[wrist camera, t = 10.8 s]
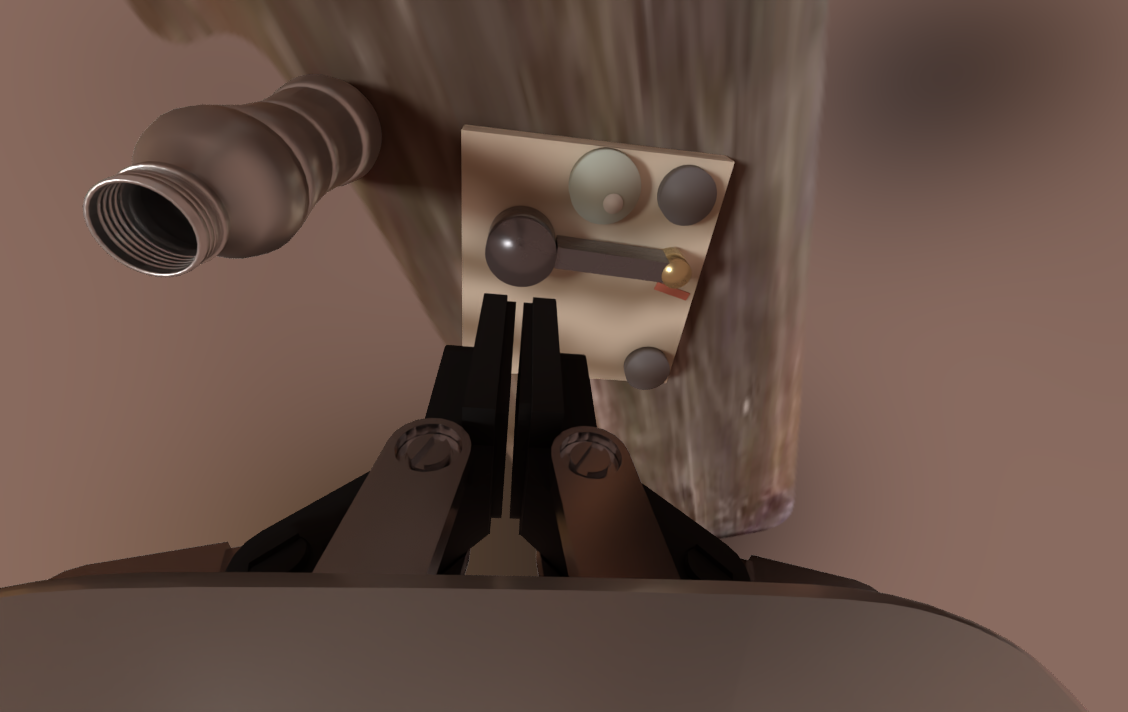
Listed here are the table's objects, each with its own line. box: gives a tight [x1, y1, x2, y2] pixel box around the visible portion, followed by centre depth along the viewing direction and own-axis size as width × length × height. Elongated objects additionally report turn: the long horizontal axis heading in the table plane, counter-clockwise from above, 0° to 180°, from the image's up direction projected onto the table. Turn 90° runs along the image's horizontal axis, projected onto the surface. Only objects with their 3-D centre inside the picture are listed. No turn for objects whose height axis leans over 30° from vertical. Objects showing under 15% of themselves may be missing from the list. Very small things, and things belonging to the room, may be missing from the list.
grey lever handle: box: [485, 206, 692, 289], centre depth 35 cm, size 15×5×3 cm, turn 80°
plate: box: [461, 124, 735, 390], centre depth 38 cm, size 20×19×3 cm
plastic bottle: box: [83, 74, 382, 277], centre depth 25 cm, size 6×7×20 cm
